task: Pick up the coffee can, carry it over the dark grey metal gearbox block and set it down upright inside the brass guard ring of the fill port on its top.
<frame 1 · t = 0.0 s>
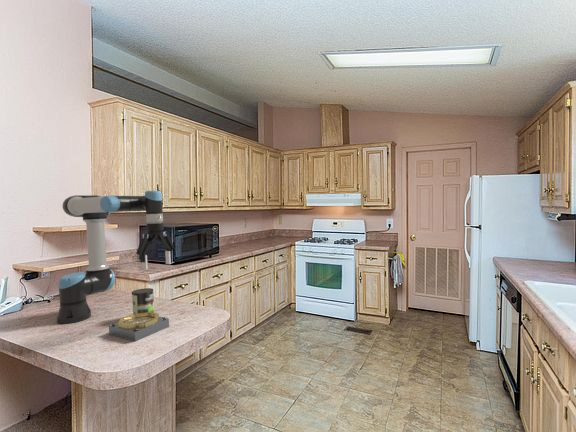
hand: (157, 266, 158), 28 cm above the counter, fingers open, 13 cm apart
coffee can: (144, 317, 168), on the counter
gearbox: (139, 330, 150), on the counter
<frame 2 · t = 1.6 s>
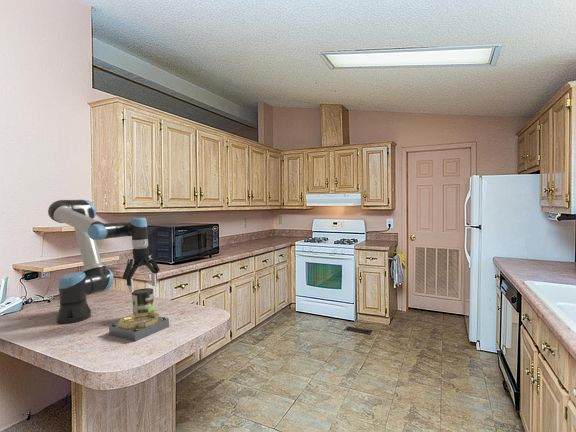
hand: (143, 288, 167), 15 cm above the counter, fingers open, 13 cm apart
nothing on the counter moved.
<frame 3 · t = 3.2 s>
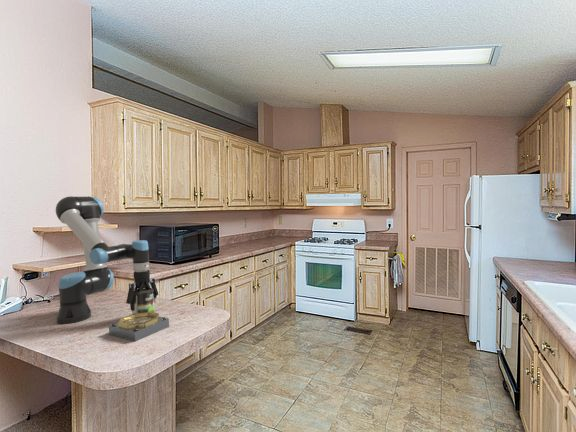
hand: (143, 313, 168), 2 cm above the counter, fingers closed on coffee can, 10 cm apart
coffee can: (144, 317, 168), on the counter, touching gripper
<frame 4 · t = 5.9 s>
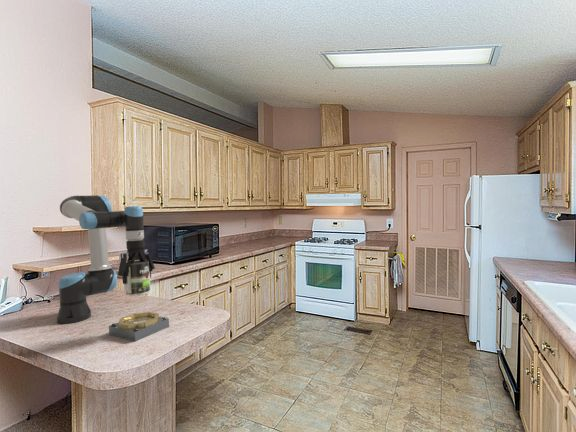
hand: (137, 287, 150), 20 cm above the counter, fingers closed on coffee can, 10 cm apart
coffee can: (138, 293, 150), point 17 cm above the counter, touching gripper
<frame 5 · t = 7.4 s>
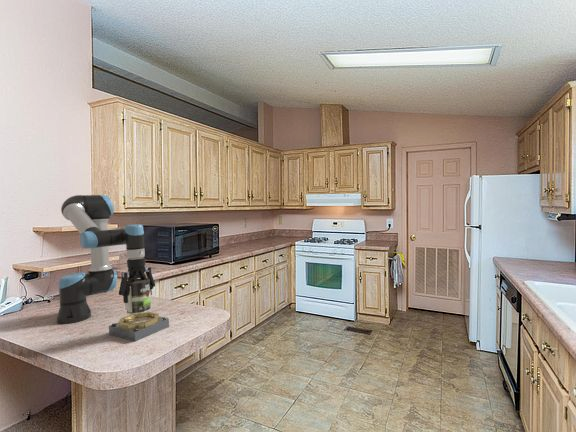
hand: (138, 306, 150), 11 cm above the counter, fingers closed on coffee can, 10 cm apart
coffee can: (139, 311, 150), point 9 cm above the counter, touching gripper
when the fingers open (8 cm above the counter, at t = 8.6 s): coffee can drops 2 cm, resting on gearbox.
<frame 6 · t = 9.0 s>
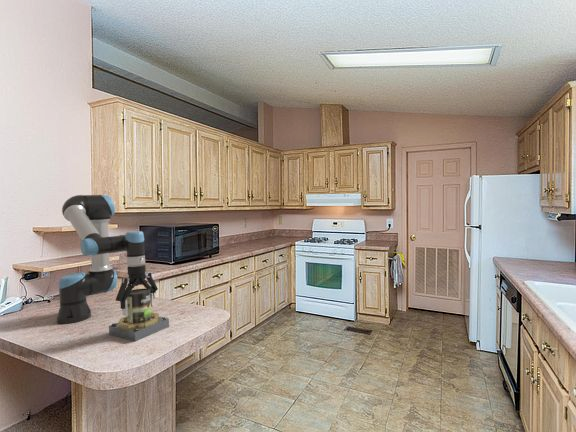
hand: (138, 310, 150), 9 cm above the counter, fingers open, 13 cm apart
coffee can: (139, 321, 150), point 4 cm above the counter, touching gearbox
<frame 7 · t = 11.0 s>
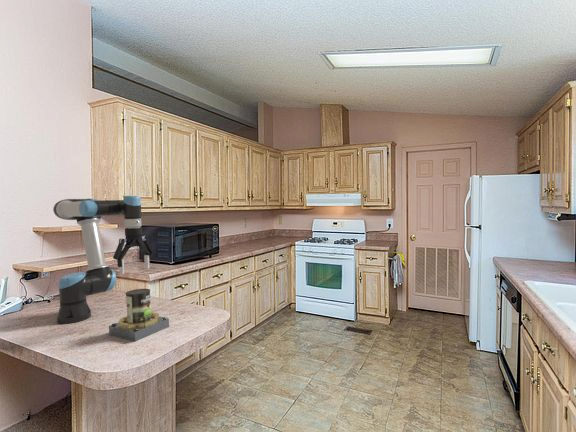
hand: (134, 270, 159), 26 cm above the counter, fingers open, 13 cm apart
nothing on the counter moved.
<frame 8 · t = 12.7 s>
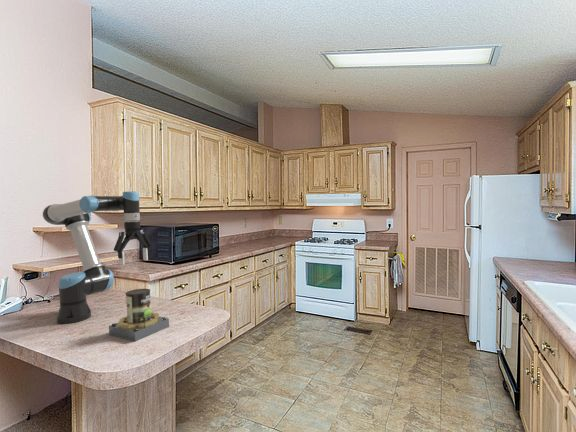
hand: (134, 262, 168), 29 cm above the counter, fingers open, 13 cm apart
nothing on the counter moved.
at the end: coffee can 0.2 cm off-centre on the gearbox, point 4.0 cm above the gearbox's base; coffee can tilted 0°; the gripper is holding nothing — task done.
